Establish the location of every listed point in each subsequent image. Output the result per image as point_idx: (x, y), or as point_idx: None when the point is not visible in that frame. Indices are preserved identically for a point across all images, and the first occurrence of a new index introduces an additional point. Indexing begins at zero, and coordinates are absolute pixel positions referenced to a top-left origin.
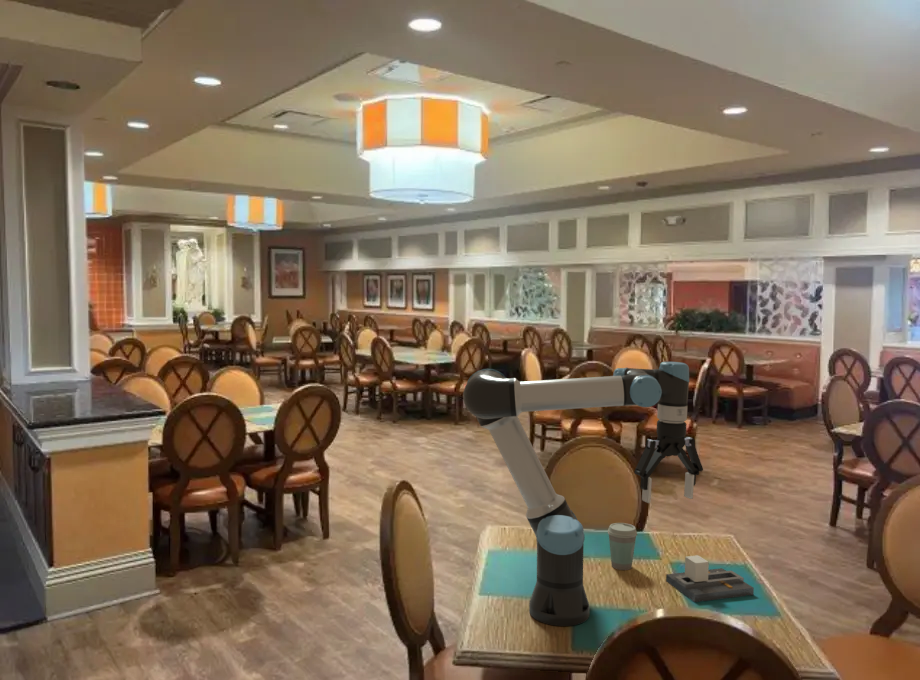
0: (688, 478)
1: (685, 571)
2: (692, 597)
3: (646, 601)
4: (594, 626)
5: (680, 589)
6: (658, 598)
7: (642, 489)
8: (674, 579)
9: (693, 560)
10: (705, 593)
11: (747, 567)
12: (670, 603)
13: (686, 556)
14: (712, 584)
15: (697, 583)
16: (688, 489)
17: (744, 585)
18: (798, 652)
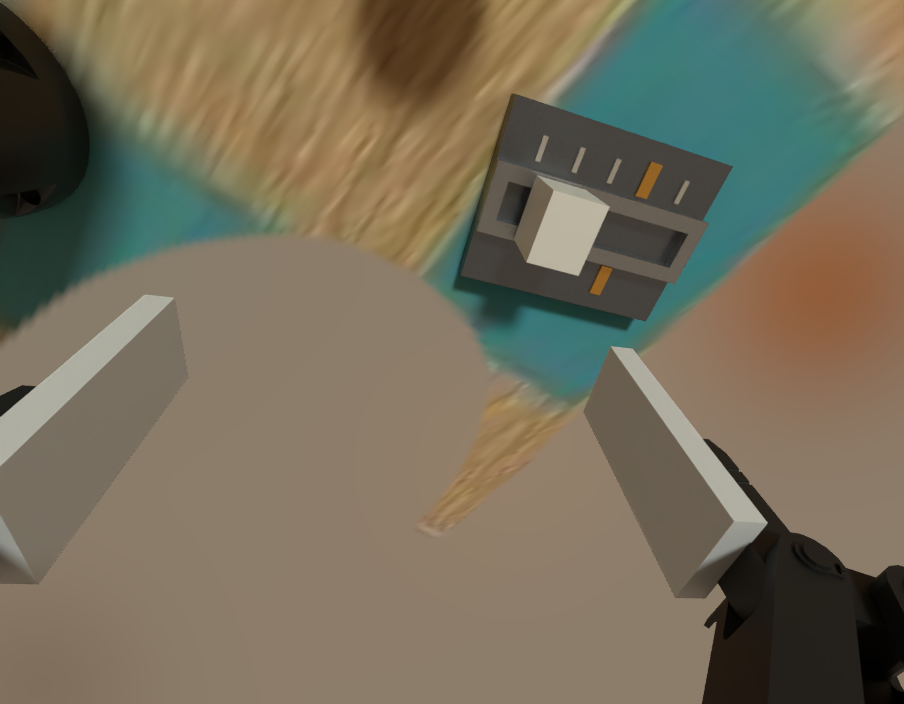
0: (673, 514)
1: (537, 182)
2: (463, 260)
3: (329, 190)
4: (76, 241)
5: (482, 194)
6: (380, 192)
7: (78, 351)
8: (502, 151)
9: (544, 238)
10: (496, 284)
11: (851, 160)
12: (389, 238)
13: (558, 191)
14: None
15: None
16: (620, 434)
17: (641, 299)
18: (455, 496)
